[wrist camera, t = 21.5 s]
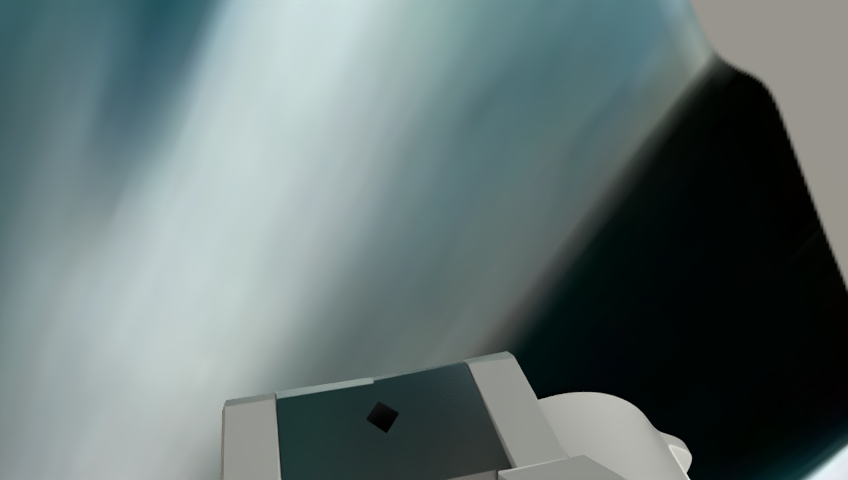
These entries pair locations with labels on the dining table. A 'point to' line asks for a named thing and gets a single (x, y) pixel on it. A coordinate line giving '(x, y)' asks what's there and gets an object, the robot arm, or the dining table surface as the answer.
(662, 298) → the dining table surface
